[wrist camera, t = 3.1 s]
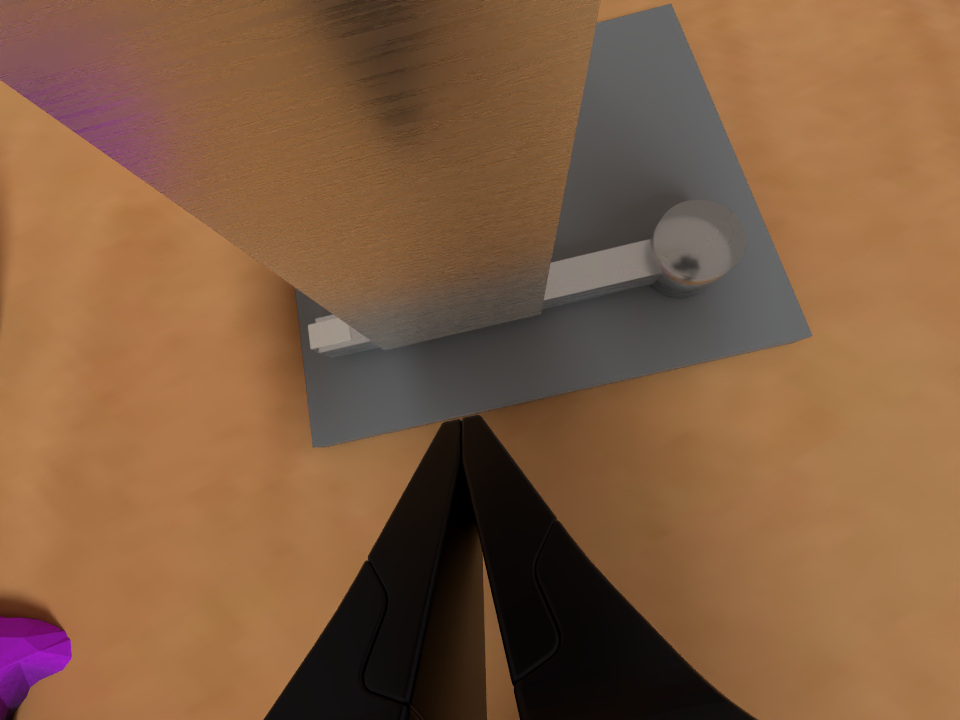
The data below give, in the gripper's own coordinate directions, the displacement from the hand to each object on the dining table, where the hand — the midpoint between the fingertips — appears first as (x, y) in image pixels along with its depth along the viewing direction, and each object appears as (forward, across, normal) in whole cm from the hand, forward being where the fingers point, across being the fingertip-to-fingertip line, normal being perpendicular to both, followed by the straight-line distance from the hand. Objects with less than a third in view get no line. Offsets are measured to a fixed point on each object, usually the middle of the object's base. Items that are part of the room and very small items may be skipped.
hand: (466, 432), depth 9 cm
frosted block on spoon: (+8, -2, +1) cm, 9 cm away
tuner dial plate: (+12, -3, -1) cm, 13 cm away
